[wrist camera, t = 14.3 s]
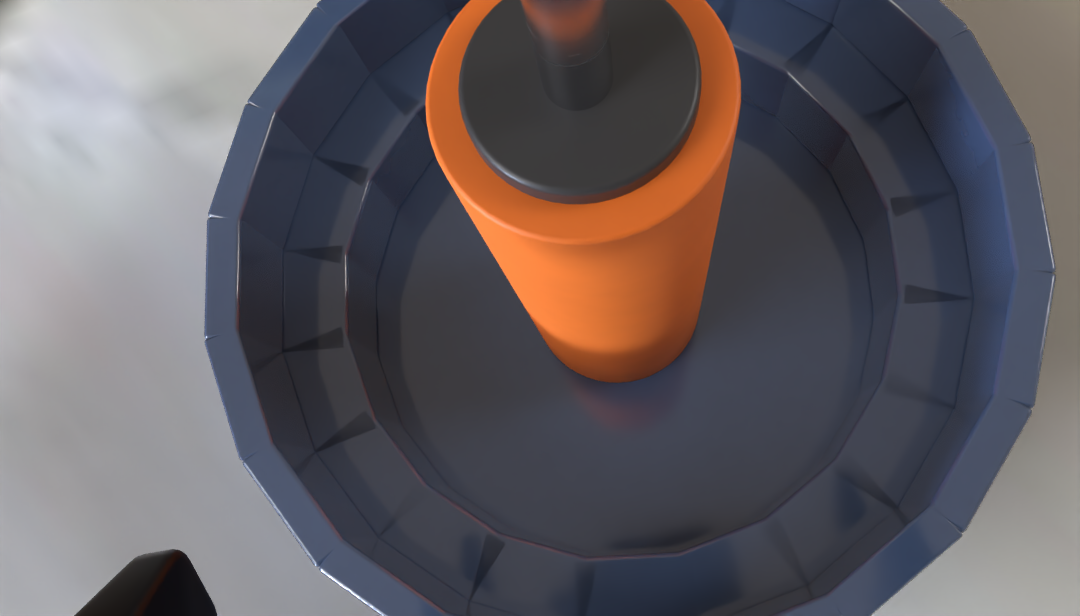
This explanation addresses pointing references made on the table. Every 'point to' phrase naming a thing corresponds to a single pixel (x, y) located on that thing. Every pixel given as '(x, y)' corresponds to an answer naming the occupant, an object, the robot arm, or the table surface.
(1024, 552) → the table surface
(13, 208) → the table surface
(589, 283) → the screwdriver
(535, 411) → the bowl
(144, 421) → the table surface
